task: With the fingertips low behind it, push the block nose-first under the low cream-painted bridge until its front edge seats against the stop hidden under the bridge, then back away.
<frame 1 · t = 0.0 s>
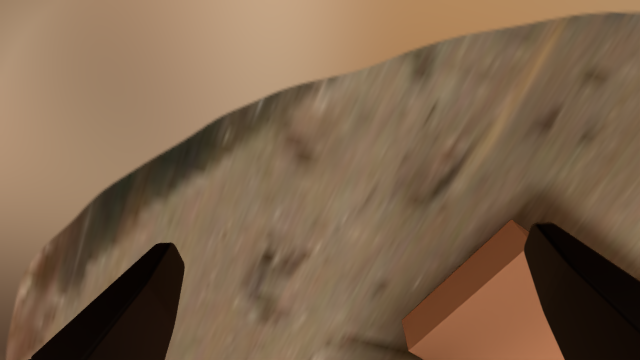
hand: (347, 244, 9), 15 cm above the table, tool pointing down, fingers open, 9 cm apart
block: (530, 322, 31), on the table
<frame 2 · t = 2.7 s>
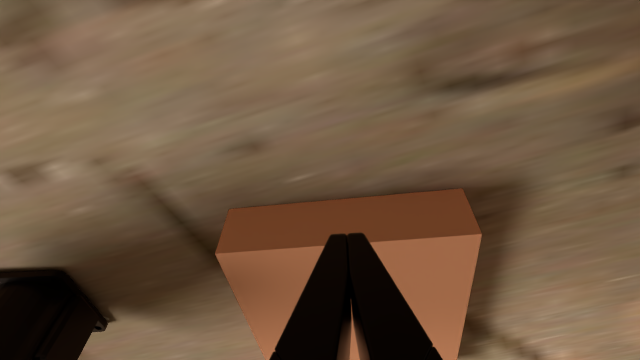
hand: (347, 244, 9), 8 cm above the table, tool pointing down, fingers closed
block: (354, 293, 25), on the table
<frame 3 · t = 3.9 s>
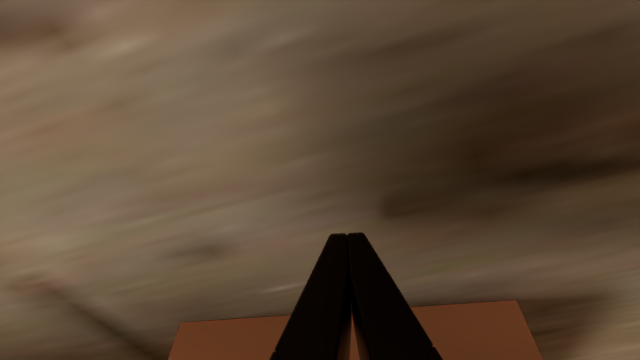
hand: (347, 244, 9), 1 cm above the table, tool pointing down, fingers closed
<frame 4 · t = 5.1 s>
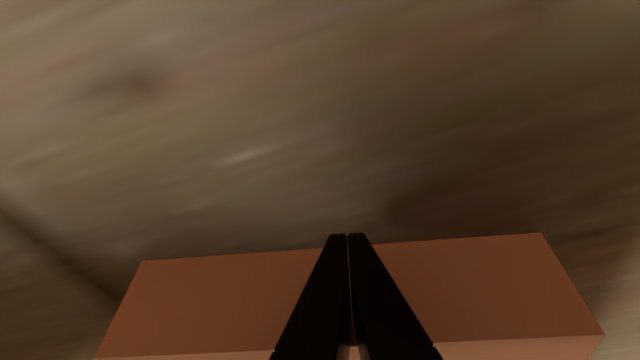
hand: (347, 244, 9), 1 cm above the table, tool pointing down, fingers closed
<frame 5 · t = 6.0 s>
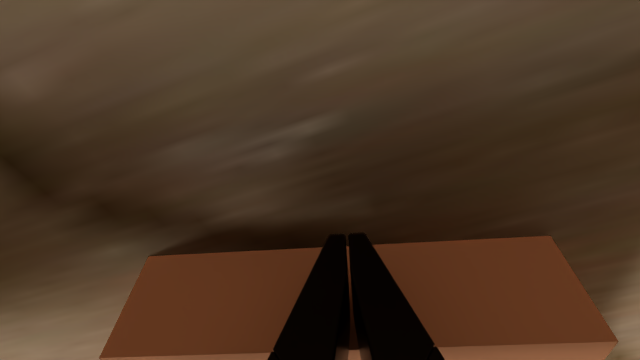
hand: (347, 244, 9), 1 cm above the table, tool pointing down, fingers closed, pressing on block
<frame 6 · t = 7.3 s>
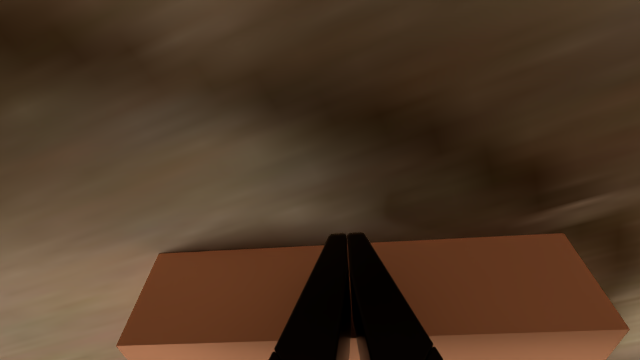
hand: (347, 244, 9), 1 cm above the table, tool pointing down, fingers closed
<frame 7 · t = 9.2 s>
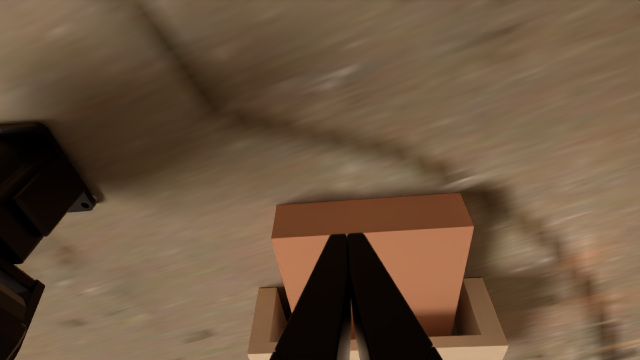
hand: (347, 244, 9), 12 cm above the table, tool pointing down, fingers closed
block: (369, 277, 30), on the table
bridge: (369, 319, 33), on the table
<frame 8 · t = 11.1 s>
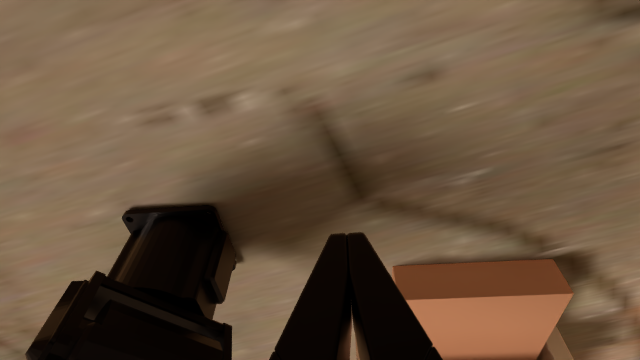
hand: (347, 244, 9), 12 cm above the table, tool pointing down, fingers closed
block: (454, 320, 34), on the table
bridge: (445, 355, 37), on the table
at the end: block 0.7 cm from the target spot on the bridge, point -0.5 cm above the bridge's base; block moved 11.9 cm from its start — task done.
